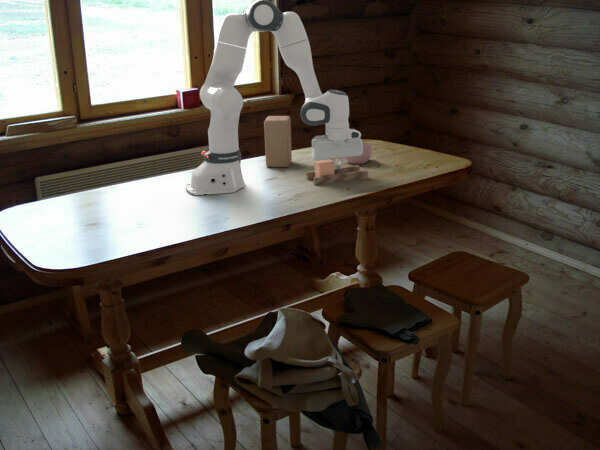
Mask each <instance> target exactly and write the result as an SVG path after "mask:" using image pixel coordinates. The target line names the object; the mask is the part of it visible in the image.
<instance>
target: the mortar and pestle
mask: <svg viewBox="0 0 600 450" xmlns="http://www.w3.org/2000/svg"><path fill="white" fill-rule="evenodd" d="M362 143H363V153H362V155H360V156H352V157H344V160H346V161H347V163H349V164H351V165H364V164H366V163H367V162H368V161H369V160H370V158H371V156H372V154H373V148H372V144H371V143H370V142H363V141H362Z"/></svg>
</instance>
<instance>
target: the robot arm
mask: <svg viewBox="0 0 600 450" xmlns="http://www.w3.org/2000/svg"><path fill="white" fill-rule="evenodd" d="M254 32H259V33H264V32H271V33H272V34H273V35H274V37H275V39H276V43H277V45H278V46H277V47H278V48H279V52H280V55H281V57H282V59H283V60H282V61H284V64H285V65H286V66H287V67H288V68H290V69H291V70H292V71H294V72H295V73H296V75H297V77H298V79H299V81H300V85H301V88H302V90H303V94H304V98H305V101H304V102H303V103H304V104H303V105H302V106H301V108H300V113H299V114H300V115H299V116H300V118H301V121H302V122H303V123H304V124H305V125H307V126H310V127H311V126H313V127H315V126H321V125H325V134H322V135H321V134H320V135H315V136H314V137H313V138H312V139H311V158H312V160H314V161H315V162H317V161H325V160H330V161H332V162H333V163H334V170H336V169H341V168H342V167H343V166H342V165H343V164H344V161H345V157H352V156H360V155H362V153H363V140H362V138H361V137H362V133H361V132H360V131H359V130H356V129H355V128H350V122H349V117H350V103H349V96H348V95H347V93H346V92H344V91H342V90H338V89H329V90H327V91H326V92H325V93H323V91H322V90H321V87H320V84H319V81H318V78H317V75H316V72H315V69H314V64H313V63H314V62H313V58H312V56H313V55H312V50H311V45H310V41H309V37H308V35H307V32H306V29H305V27H304V24H303V21H302V20H301V17H300V16H299V15H298V14H297V13H296V12H295V11H285V12H282V10H280V9H279V8H278V7H277V6H276V4H275V3H273V2H272V1H270V0H253V1H251V2H250V3H249V5H248V6H247V7H246V8H245V9H244V10H243V11H242V12H241V13H239V12H230V13H227V14H225V15H224V17H223V19H222V21H221V23H220V26H219V30H218V32H217V37H216V40H215V45H214V49H213V57H212V61H211V65H210V67H209V70H208V73H207V75H206V78H205V81H204V83H203V85H202V86H201V88H200V90H199V99H200V100H201V102H202V105H203V106H204V107H205V108H206V109H207V110H209V111H210V119H209V120H210V121H209V122H210V123H209V127H208V129H207V136H208V149H209V150H207V151H206V150H202V151H201V152H200V154H201V156H202V157H204V161H203V162H202V163H201V164H200V165H198V166H197V167H196V168H195V169H194V170H193V171H192V173H191V178H190V182H188V183H186V184H185V191H186V192H187V191H188V192H189V193H188V192H187V193H188V194H190V193H191V194H190V195H192V194H193V196H203V195H204V194H207V195H219V194H233V193H236V192H237V191H238V190H240V189H242V188H243V189H244V187H245V186H246V182H245V180H244V177H243V176H244V175H243V173H242V166H241V164H242V163H241V161H242V156H241V155H242V154H241V149H240V148H239V145H240V144H239V122H240V121H239V120H240V115H241V111H242V108H243V106H244V99H243V96H242V94H241V93H240V92H239V90H238V89H236V88H235V83H236V80H237V79H238V77H239V75H240V74H241V73H242V71H243V67H244V62H245V58H246V54H247V47H248V43H249V39H250V36H251V35H252V33H254ZM337 159H338V160H339V161H338V163H336V162H337V161H336V160H337ZM204 196H205V195H204Z"/></svg>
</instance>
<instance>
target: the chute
mask: <svg viewBox="0 0 600 450" xmlns="http://www.w3.org/2000/svg"><path fill="white" fill-rule="evenodd" d="M305 173H306V175H305V176H306V178H305V179H306V180H307V181H310V180H312V181H313V185H314V186H319V185H328V184H334V183H335V184H336V183H343V182H348V181H357V180H365V179H368V178H369V171H368V170H367V169H365V170H360V164H355V165H350V166H342V168H341V169H336V170H334V174H333V175H325V176H317V177H315V170H310V171H305Z"/></svg>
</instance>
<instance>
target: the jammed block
mask: <svg viewBox="0 0 600 450" xmlns="http://www.w3.org/2000/svg"><path fill="white" fill-rule="evenodd" d="M314 171H315V177H317V176H325V175H333V174H334V163H333V162H332V161H330V159H327V160H319V161H314Z"/></svg>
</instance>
